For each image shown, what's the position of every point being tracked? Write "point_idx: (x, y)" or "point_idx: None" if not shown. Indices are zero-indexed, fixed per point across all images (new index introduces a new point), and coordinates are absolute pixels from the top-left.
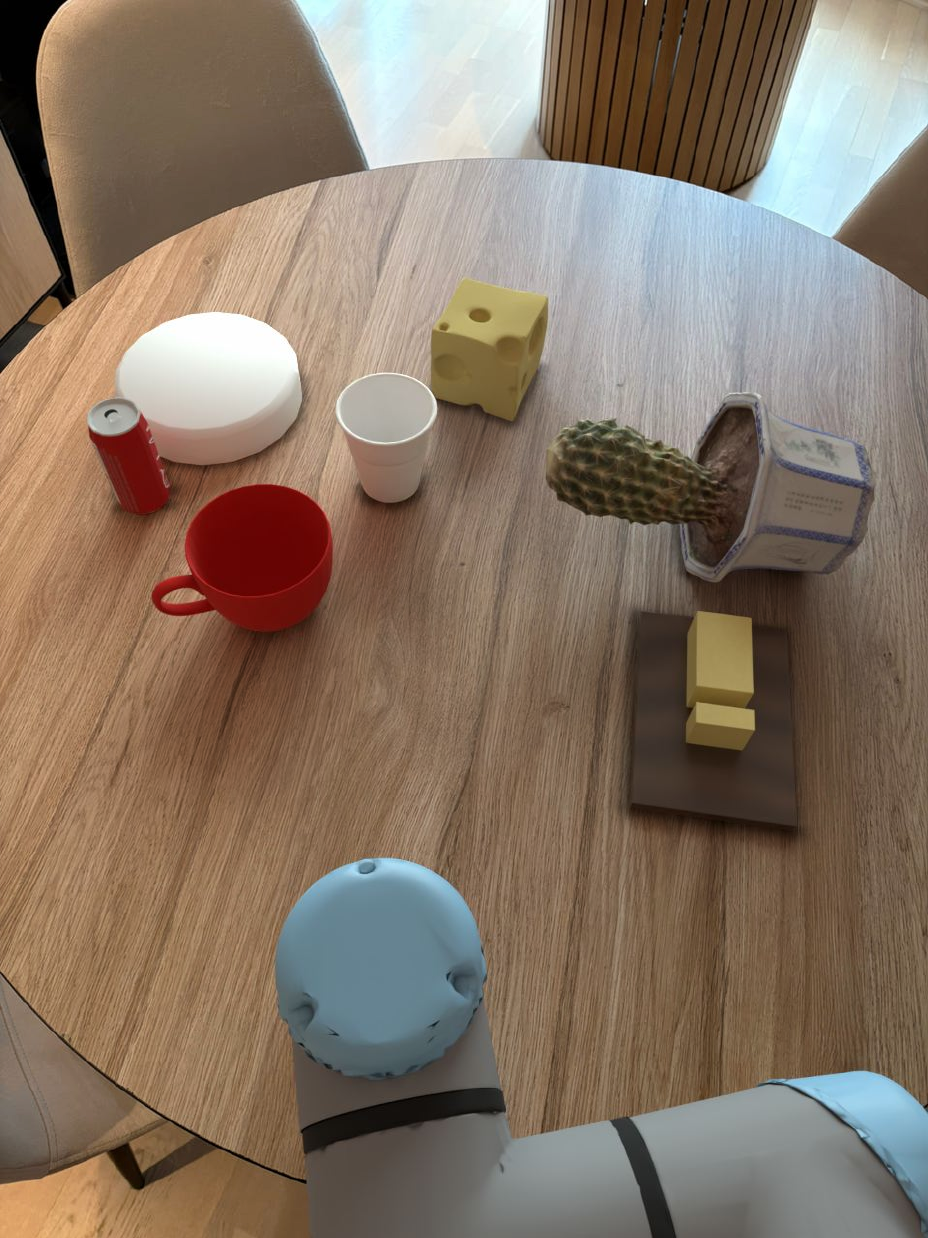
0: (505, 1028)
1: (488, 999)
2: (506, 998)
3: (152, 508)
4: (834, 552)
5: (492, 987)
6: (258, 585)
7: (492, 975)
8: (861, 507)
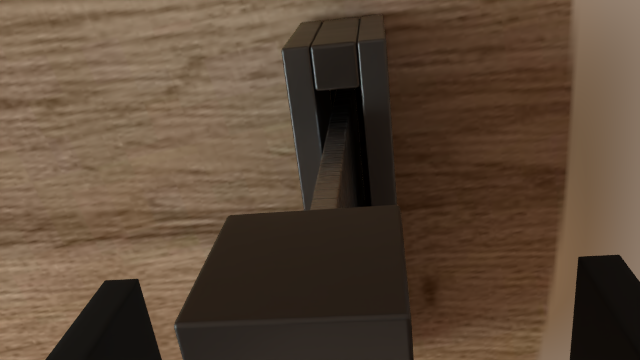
0: (121, 3)
1: (73, 66)
2: (49, 18)
3: None
4: None
5: (41, 62)
6: None
7: (14, 69)
8: None
